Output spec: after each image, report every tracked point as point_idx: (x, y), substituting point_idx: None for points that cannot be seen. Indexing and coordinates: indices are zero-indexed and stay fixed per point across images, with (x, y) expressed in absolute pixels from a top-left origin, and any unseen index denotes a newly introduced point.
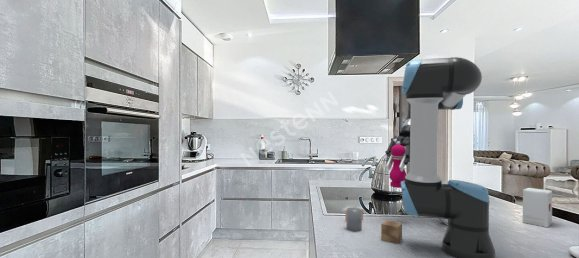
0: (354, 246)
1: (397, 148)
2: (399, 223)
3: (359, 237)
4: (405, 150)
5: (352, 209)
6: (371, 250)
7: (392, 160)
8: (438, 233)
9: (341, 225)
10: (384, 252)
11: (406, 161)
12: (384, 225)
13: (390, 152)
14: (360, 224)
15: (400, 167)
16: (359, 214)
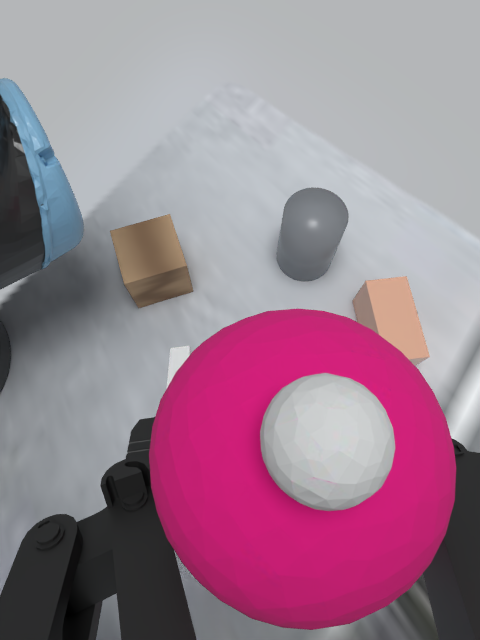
0: (198, 153)
1: (239, 322)
2: (128, 270)
3: (236, 212)
4: (163, 526)
5: (320, 209)
6: (151, 166)
7: None
8: (65, 485)
9: (359, 251)
10: (120, 181)
11: (134, 429)
12: (159, 218)
13: (471, 475)
14: (278, 247)
15: (177, 352)
16: (282, 218)
